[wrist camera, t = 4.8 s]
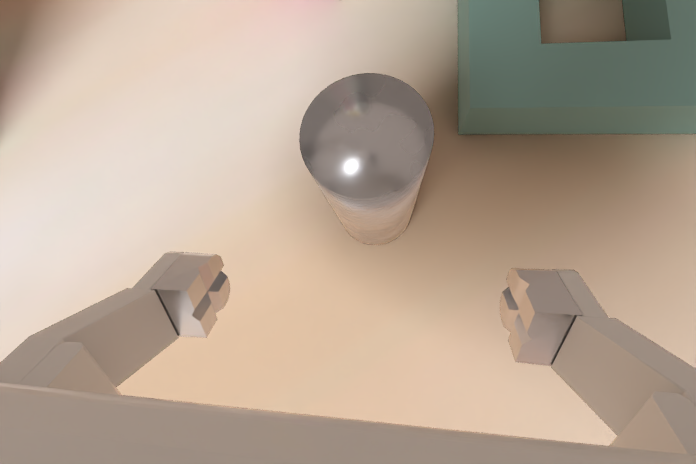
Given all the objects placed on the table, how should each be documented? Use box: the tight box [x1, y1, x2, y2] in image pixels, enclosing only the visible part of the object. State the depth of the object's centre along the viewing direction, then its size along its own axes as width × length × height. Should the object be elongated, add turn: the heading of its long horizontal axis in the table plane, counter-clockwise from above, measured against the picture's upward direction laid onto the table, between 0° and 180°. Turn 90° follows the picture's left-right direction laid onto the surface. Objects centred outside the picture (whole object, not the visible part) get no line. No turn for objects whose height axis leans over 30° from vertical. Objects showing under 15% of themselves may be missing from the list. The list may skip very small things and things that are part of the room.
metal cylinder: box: [299, 73, 434, 245], centre depth 16 cm, size 4×4×10 cm
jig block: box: [458, 0, 696, 134], centre depth 20 cm, size 14×14×3 cm
